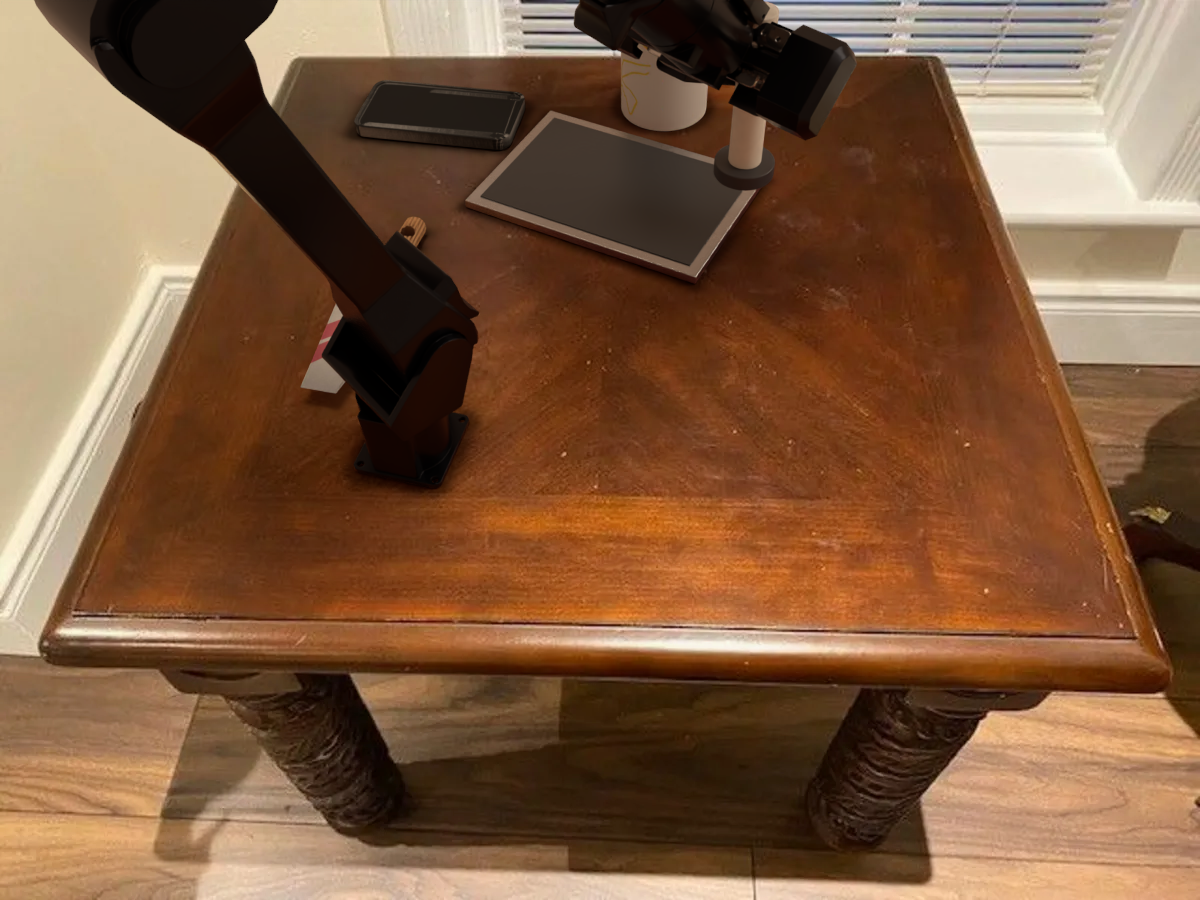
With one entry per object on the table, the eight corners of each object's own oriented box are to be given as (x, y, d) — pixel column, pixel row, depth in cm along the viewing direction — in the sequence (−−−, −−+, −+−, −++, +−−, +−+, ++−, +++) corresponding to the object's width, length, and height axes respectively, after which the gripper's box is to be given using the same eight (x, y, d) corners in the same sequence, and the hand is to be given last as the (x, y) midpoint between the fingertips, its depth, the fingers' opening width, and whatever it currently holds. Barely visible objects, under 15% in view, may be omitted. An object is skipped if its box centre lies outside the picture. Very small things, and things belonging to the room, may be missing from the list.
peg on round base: (785, 177, 82) (809, 14, 72) (737, 198, 81) (754, 35, 70) (748, 147, 85) (765, -14, 74) (701, 167, 83) (712, 5, 73)
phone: (507, 140, 94) (350, 125, 96) (508, 151, 95) (353, 135, 97) (527, 92, 99) (377, 78, 101) (528, 102, 100) (380, 88, 102)
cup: (608, 93, 100) (606, -29, 91) (685, 75, 102) (691, -47, 93) (640, 139, 96) (641, 15, 86) (720, 119, 97) (729, -4, 88)
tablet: (766, 181, 91) (767, 172, 91) (695, 284, 83) (696, 276, 83) (550, 117, 98) (550, 109, 97) (465, 207, 90) (464, 199, 89)
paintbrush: (288, 371, 74) (393, 208, 87) (297, 398, 76) (399, 234, 89) (337, 380, 73) (436, 214, 86) (345, 407, 75) (441, 241, 88)
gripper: (868, -80, 58) (928, 27, 72) (623, -167, 67) (719, -56, 80) (768, 103, 61) (844, 173, 75) (544, -2, 69) (650, 78, 83)
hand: (762, 86), depth 78 cm, fingers closed on peg on round base, 2 cm apart
